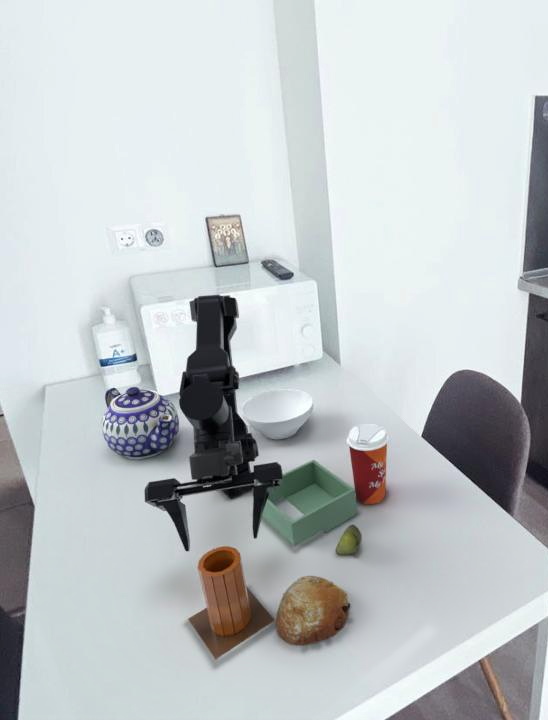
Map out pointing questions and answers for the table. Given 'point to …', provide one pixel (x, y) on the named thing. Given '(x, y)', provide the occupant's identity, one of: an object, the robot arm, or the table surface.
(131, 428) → the teapot
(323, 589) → the bread roll
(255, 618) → the stand
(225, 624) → the slatted orange pencil cup
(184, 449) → the table surface
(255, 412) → the bowl
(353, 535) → the lime
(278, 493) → the bin
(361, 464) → the paper cup
